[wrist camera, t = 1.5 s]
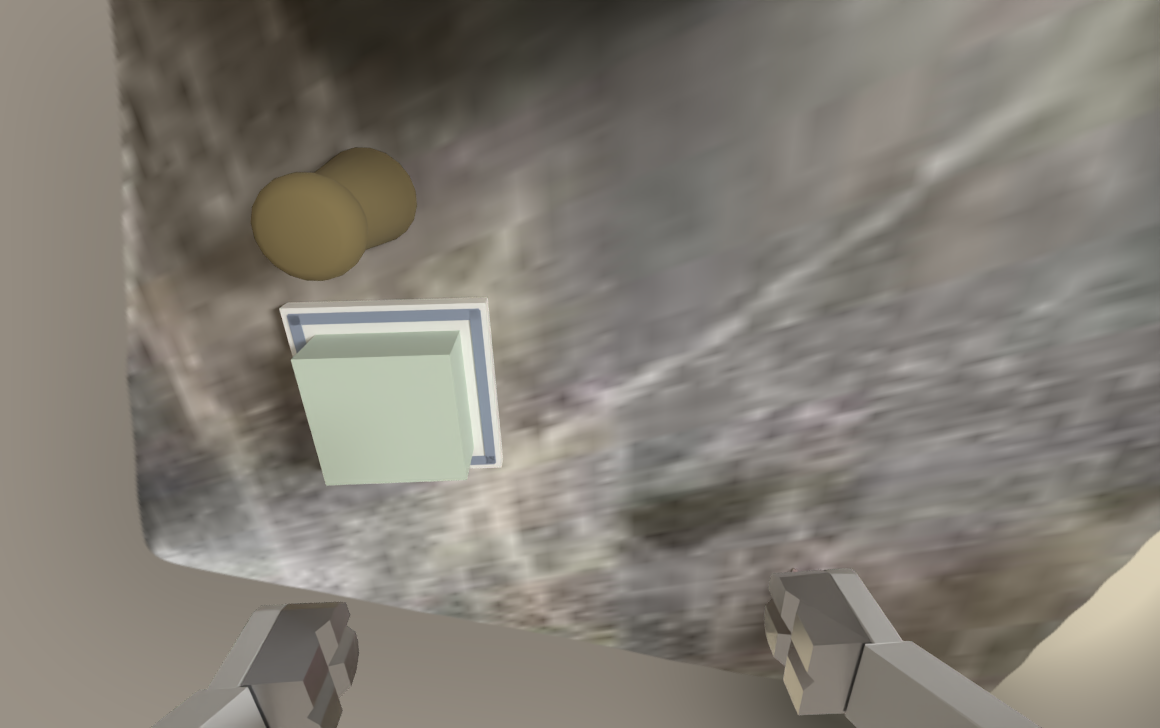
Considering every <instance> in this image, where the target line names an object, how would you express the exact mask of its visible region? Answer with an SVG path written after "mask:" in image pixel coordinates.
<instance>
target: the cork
mask: <svg viewBox="0 0 1160 728" xmlns="http://www.w3.org/2000/svg"><path fill="white" fill-rule="evenodd" d="M416 207H417V202H416V192H415V189H414V186H413V184H412V181H411V179H410V177H409V175H408V174H407V173H406V171H405V170H404V169H403V168H402V166H401V165H400V164H399V163H398V162H397V161H395V160H394V159H393V158H391V157H390V156H389V155H387V154H386V153H383V152H380V151H378V150H375V149H372V148H356V147H355V148H352V149H349V150H346V151H343V152H340V153H339V154H338V155H336V156H335V157H334V158H333V159H331V160H330V161H329V162H327V163H326V164H325V165H324V166H322V167H321V168H320V169H318V170H317V171H316V172H314V173H306V172H295V173H290V174H287V175H284V176H281V177H278V178H275V179H274V180H272V181H271V182H270V183H269V184H268V185H266V186H265V187H264V188H263V189H262V190H261V191H260V192H259V194H258V196H257V198H256V200H255V202H254V204H253V206H252V214H251V225H252V230H253V234H254V238H255V240H256V242H257V244H258V245H259V247H260V249H261V251H262V253H263V254H264V255H265V256H266V257H267V258H268V259H269V260H270V261H271V262H272V263H273V264H274V265H275V266H276V267H277V268H279V269H281V270H282V271H284V272H286V273H287V274H289V275H290V276H294V277H297V278H300V279H304V280H310V281H324V280H329V279H332V278H335V277H339V276H342V275H343V274H345V273H346V272H347V271H349V270H350V269H351V268H353V267H354V266H355V265H356V264H357V263H358V262H359V260H360V258H361V257H362V255H363V253H364V252H365V250H366V249H369V248H372V247H375V246H378V245H381V244H383V243H386V242H389V241H392V240H395V239H397V238H398V237H399V236H401V235H402V234H403V233H405V232H406V231H407V230H408V228H409V226H410V225H411V223H412V222H413V220H414V216H415V212H416Z"/></svg>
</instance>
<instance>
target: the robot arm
mask: <svg viewBox="0 0 1160 728" xmlns="http://www.w3.org/2000/svg"><path fill="white" fill-rule="evenodd" d="M768 589H769V591H770V593H771V596H772V599H771V600H770V601H769V602H768V603H766V604H765V612H764V624H765V632H766V636H767V640H768V643H769V646H770V649H771V651H772V654H773V656H774V657H775V658H776V659H777V660H778V661H779V662H781V663H782V664H783V665H784V666H785V672H784V677H783V680H784V683H785V685H786V687H787V690H788V692H789V695H790V697H791V699H792V702H793V704H794V707H795V709H796V711H797V714H798V715H812V714H813V715H814V714H835V713H846V714H845V716H846V717H847V718H848V719H849V720H850V721H851V722H852V723H853V724H854V725H855V726H856V727H857V728H1042V727H1040V726H1039V725H1037V724H1036V723H1034V722H1033V721H1031V720H1030V719H1028V718H1027V717H1025V716H1023V715H1022V714H1021V713H1019V712H1017V711H1016V710H1015V709H1013V708H1012V707H1010V706H1008V705H1007V704H1005V703H1004V702H1002V701H1001V700H999V699H998V698H996V697H995V696H993V695H992V694H990V693H989V692H987V691H986V690H984V689H983V688H981V687H980V686H978V685H977V684H975V683H974V682H972V681H971V680H969V679H968V678H966V677H965V676H963V675H962V674H960V673H959V672H957V671H956V670H954V669H953V668H951V667H950V666H948V665H947V664H945V663H943V662H942V661H940V660H939V659H937V658H936V657H934V656H933V655H931V654H930V653H928V652H927V651H925V650H924V649H922V648H921V647H919V646H918V645H916V644H915V643H913V642H912V641H902V639H901V638H900V636H899V635H898V633H897V632H896V630H895V629H894V627H893V626H892V624H891V623H890V622H889V620H888V619H887V617H886V616H885V614H884V613H883V611H882V610H881V608H880V607H879V605H878V604H877V602H876V601H875V600H874V598H873V597H872V595H871V594H870V592H869V591H868V589H867V588H866V586H865V585H864V583H863V582H862V580H861V579H860V578H859V576H858V575H857V573H856V572H855V571H854V570H852V569H851V568H843V569H828V570H811V571H798V572H785V573H773V574H772V576H771V577H770V579H769V585H768ZM349 617H350V613H349V610H348V607H347V604H346V603H345V602H324V603H300V604H299V603H298V604H281V605H261V606H260V607H259V608H258V609H256V610H255V611H254V612H253V613H252V615H251V616H250V618H249V620H248V621H247V623H246V625H245V626H244V628H243V630H242V631H241V633H240V635H239V637H238V638H237V640H236V641H235V643H234V645H233V646H232V648H231V650H230V652H229V653H228V655H227V656H226V658H225V660H224V662H223V663H222V665H221V667H220V668H219V670H218V671H217V673H216V675H215V676H214V678H213V680H212V681H211V683H210V685H209V687H208V688H207V689H204V690H197V691H196V692H195V693H194V694H193V695H191V696H190V697H189V698H187V699H186V700H185V701H184V702H182V703H181V704H180V705H179V706H177V707H176V708H175V709H173V710H172V711H171V712H169V713H168V714H167V715H166V716H164V717H163V718H162V719H161V720H159V721H158V722H157V723H156V724H154V725H153V726H152V727H151V728H337V725H338V722H339V720H340V717H341V714H342V707H341V704H340V701H339V698H340V697H341V696H342V695H343V694H344V693H345V692H346V691H347V690H348V689H349V688H350V687H351V685H352V682H353V679H354V676H355V673H356V669H357V662H358V656H359V648H358V639H357V636H356V633H355V631H354V630H352V629H351V628H350V627H348V626H347V622H348V620H349Z"/></svg>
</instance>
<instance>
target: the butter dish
mask: <svg viewBox="0 0 1160 728" xmlns="http://www.w3.org/2000/svg"><path fill="white" fill-rule="evenodd" d="M279 309H280V313H281V317H282V320H283V324H284V327H285V331H286V335H287V338H288V342H289V345H290V349H291V353H292V356H293V358H292V359H291V362H292V366H293V369H294V373H295V376H296V380H297V384H298V387H299V391H300V394H301V398H302V401H303V405H304V408H305V412H306V416H307V419H308V423H309V426H310V430H311V433H312V437H313V440H314V444H315V448H316V451H317V455H318V458H319V462H320V465H321V469H322V472H323V476H324V480H325V483H326V485H350V484H376V483H401V482H427V481H453V480H467V477H468V473H469V468H496V467H502V461H503V454H502V443H501V433H500V422H499V412H498V401H497V391H496V380H495V370H494V359H493V349H492V338H491V328H490V317H489V307H488V297H470V298H434V299H398V300H362V301H326V302H290V303H286V304H285V305H283V306H282V307H281V308H279Z"/></svg>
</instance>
